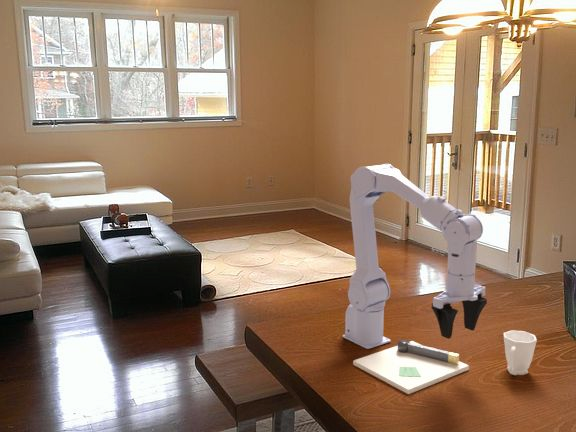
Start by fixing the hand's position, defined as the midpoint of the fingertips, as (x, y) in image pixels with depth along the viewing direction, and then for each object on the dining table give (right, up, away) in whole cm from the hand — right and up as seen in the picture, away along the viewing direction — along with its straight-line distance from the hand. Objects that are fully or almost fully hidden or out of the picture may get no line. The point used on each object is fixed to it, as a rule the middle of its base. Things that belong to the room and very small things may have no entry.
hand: (457, 332), depth 125 cm
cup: (+13, -9, +2) cm, 16 cm away
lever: (-5, -7, +8) cm, 11 cm away
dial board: (-9, -9, +5) cm, 14 cm away
